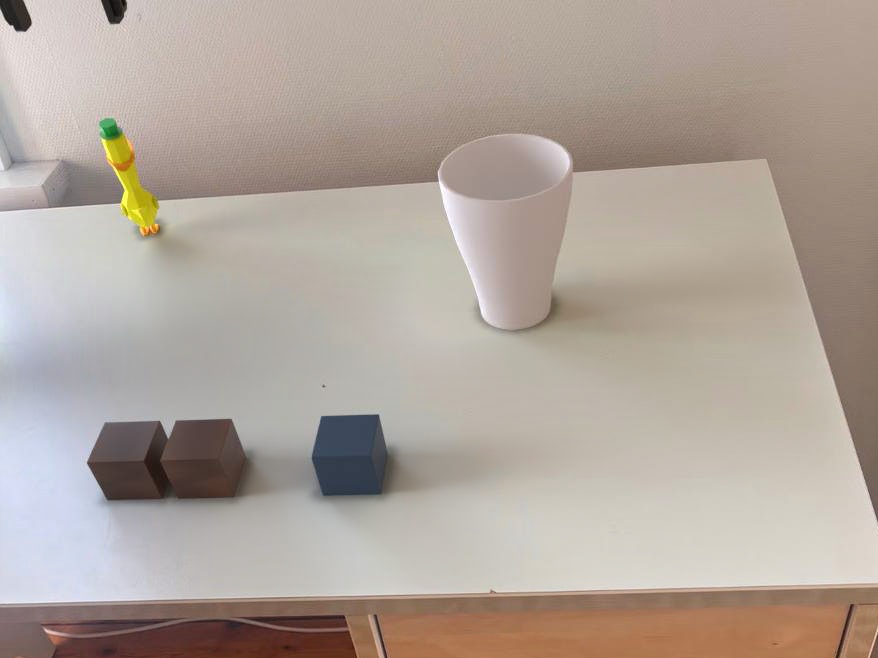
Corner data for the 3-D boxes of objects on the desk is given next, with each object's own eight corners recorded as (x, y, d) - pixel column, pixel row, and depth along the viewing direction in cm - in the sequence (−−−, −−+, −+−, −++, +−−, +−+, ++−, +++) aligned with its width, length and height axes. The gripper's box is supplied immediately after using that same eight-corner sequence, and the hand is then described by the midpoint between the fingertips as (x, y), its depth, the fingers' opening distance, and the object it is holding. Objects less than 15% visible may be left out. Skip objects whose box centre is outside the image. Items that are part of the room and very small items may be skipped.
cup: (469, 360, 81) (451, 213, 71) (446, 290, 88) (426, 147, 78) (590, 335, 82) (589, 186, 72) (558, 268, 89) (553, 123, 79)
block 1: (109, 504, 74) (86, 462, 71) (125, 463, 77) (104, 422, 74) (164, 502, 74) (143, 461, 70) (179, 462, 76) (160, 420, 73)
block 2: (179, 502, 74) (159, 461, 70) (193, 461, 76) (175, 419, 73) (235, 501, 73) (218, 459, 70) (247, 460, 76) (231, 418, 73)
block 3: (323, 499, 72) (310, 457, 69) (332, 458, 75) (320, 415, 72) (381, 498, 72) (371, 455, 69) (388, 456, 75) (379, 413, 71)
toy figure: (132, 220, 101) (86, 106, 92) (165, 212, 102) (123, 98, 93) (136, 254, 97) (88, 137, 88) (171, 245, 98) (128, 128, 88)
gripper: (87, -230, 73) (161, 1, 86) (-88, -211, 75) (9, 13, 87) (53, -203, 69) (137, 37, 81) (-133, -183, 70) (-23, 50, 83)
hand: (70, 24), depth 84 cm, fingers open, 8 cm apart
